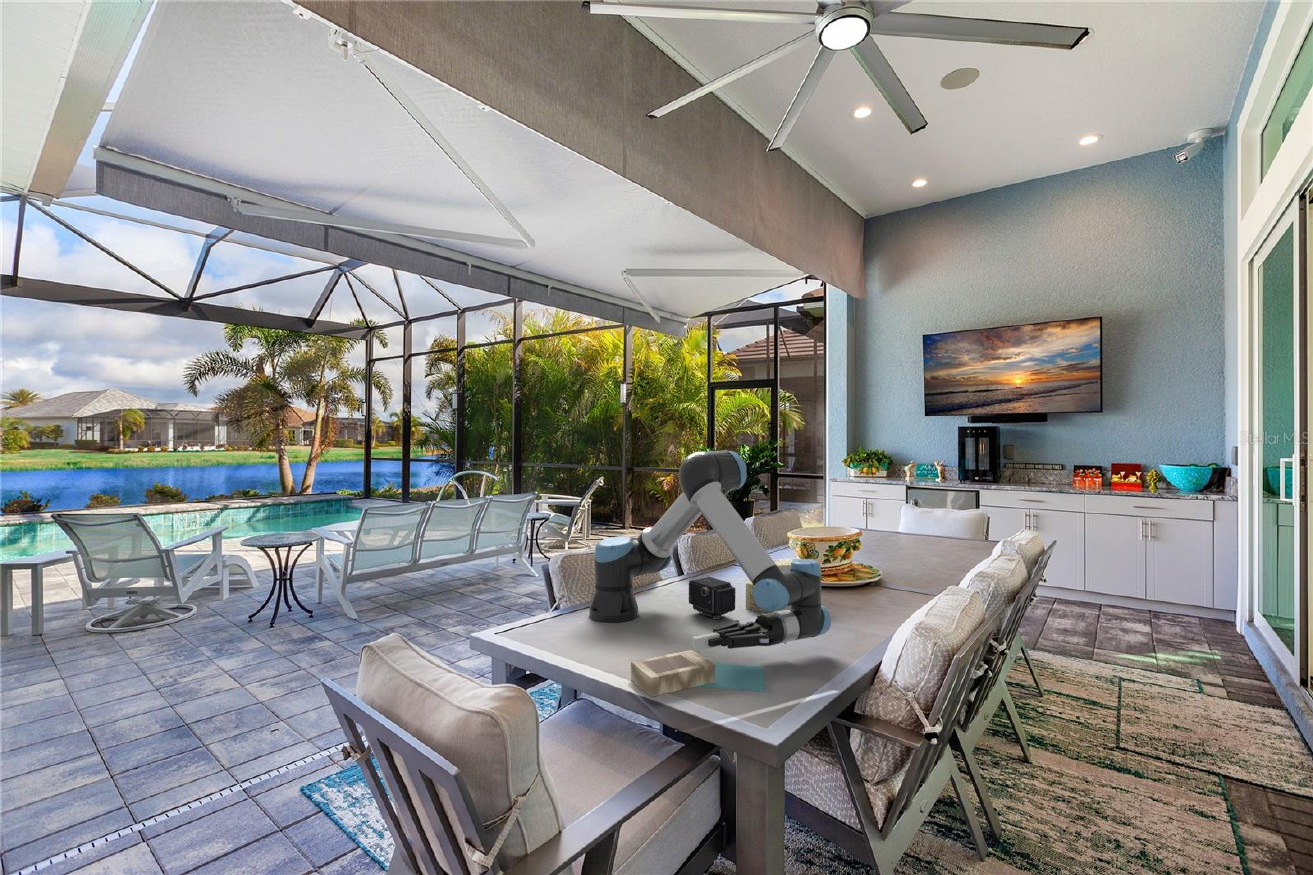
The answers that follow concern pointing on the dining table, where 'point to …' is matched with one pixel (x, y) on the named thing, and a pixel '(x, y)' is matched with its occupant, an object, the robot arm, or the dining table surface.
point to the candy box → (751, 603)
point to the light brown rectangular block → (672, 672)
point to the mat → (737, 677)
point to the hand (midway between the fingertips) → (694, 643)
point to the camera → (712, 596)
